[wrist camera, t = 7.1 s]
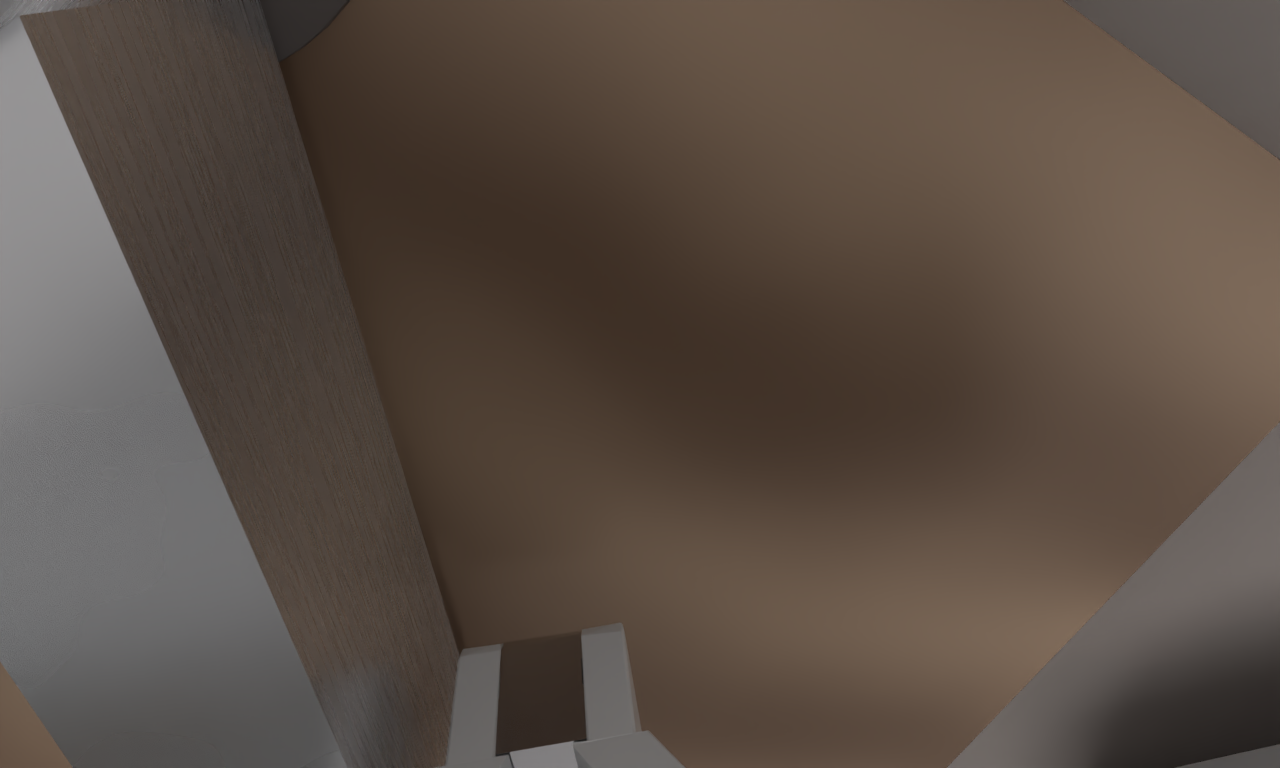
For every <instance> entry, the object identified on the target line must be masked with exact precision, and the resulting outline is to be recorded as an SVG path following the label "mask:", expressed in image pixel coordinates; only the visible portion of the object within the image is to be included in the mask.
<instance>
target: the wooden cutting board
mask: <svg viewBox="0 0 1280 768" xmlns="http://www.w3.org/2000/svg"><path fill="white" fill-rule="evenodd" d="M260 4H261V7H262V10H263V13H264V17H265V20H266V23H267V26H268V30H269V33H270V36H271V40H272V43H273V46H274V49H275V53H276V56H277V59H278V62H279V66H280V69H281V72H282V76H283V79H284V82H285V85H286V89H287V92H288V95H289V99H290V102H291V105H292V108H293V112H294V115H295V118H296V121H297V125H298V128H299V131H300V135H301V138H302V141H303V144H304V148H305V151H306V154H307V157H308V161H309V164H310V167H311V171H312V174H313V177H314V180H315V184H316V187H317V190H318V193H319V197H320V200H321V203H322V207H323V210H324V213H325V216H326V220H327V223H328V226H329V230H330V233H331V236H332V239H333V243H334V246H335V249H336V252H337V256H338V259H339V262H340V266H341V269H342V272H343V275H344V279H345V282H346V285H347V288H348V292H349V295H350V298H351V302H352V305H353V308H354V311H355V315H356V318H357V321H358V324H359V328H360V331H361V334H362V338H363V341H364V344H365V347H366V351H367V354H368V357H369V360H370V364H371V367H372V370H373V374H374V377H375V380H376V383H377V387H378V390H379V393H380V397H381V400H382V403H383V406H384V410H385V413H386V416H387V419H388V423H389V426H390V429H391V433H392V436H393V439H394V442H395V446H396V449H397V452H398V455H399V459H400V462H401V465H402V469H403V472H404V475H405V478H406V482H407V485H408V488H409V491H410V495H411V498H412V501H413V505H414V508H415V511H416V514H417V518H418V521H419V524H420V528H421V531H422V534H423V537H424V541H425V544H426V547H427V550H428V554H429V557H430V560H431V564H432V567H433V570H434V573H435V577H436V580H437V583H438V586H439V590H440V593H441V596H442V600H443V603H444V606H445V609H446V613H447V616H448V619H449V622H450V626H451V629H452V632H453V636H454V639H455V642H456V645H457V649H458V652H459V655H460V654H461V652H462V650H463V649H467V648H474V647H481V646H489V645H496V644H503V643H504V642H510V641H517V640H524V639H531V638H537V637H544V636H550V635H556V634H561V633H567V632H572V631H578V630H582V629H588V628H593V627H599V626H604V625H610V624H615V623H622V624H623V628H624V632H625V637H626V643H627V649H628V655H629V660H630V666H631V672H632V678H633V683H634V689H635V695H636V701H637V707H638V713H639V718H640V724H641V730H642V731H647V730H649V731H650V732H651V733H652V734H653V735H654V736H655V737H656V738H657V739H658V740H659V741H660V743H661V744H662V745H663V746H664V747H665V748H666V749H667V750H668V751H669V752H670V753H671V754H672V755H673V756H674V757H675V758H676V759H677V760H678V761H679V762H680V763H681V764H682V765H683V766H684V767H685V768H947V767H948V766H949V765H950V764H951V763H952V761H953V760H954V759H955V758H956V757H957V756H958V755H959V754H960V753H961V752H962V751H963V750H964V749H965V748H966V747H967V746H968V745H969V744H970V743H971V742H972V741H973V740H974V739H975V738H976V737H977V736H978V734H979V733H980V732H981V731H982V730H983V729H984V728H985V727H986V726H987V725H988V724H989V723H990V722H991V721H992V720H993V719H994V718H995V717H996V716H997V715H998V714H999V713H1000V712H1001V711H1002V710H1003V709H1004V707H1005V706H1006V705H1007V704H1008V703H1009V702H1010V701H1011V700H1012V699H1013V698H1014V697H1015V696H1016V695H1017V694H1018V693H1019V692H1020V691H1021V690H1022V689H1023V688H1024V687H1025V686H1026V685H1027V684H1028V683H1029V682H1030V681H1031V679H1032V678H1033V677H1034V676H1035V675H1036V674H1037V673H1038V672H1039V671H1040V670H1041V669H1042V668H1043V667H1044V666H1045V665H1046V664H1047V663H1048V662H1049V661H1050V660H1051V659H1052V658H1053V657H1054V656H1055V655H1056V654H1057V652H1058V651H1059V650H1060V649H1061V648H1062V647H1063V646H1064V645H1065V644H1066V643H1067V642H1068V641H1069V640H1070V639H1071V638H1072V637H1073V636H1074V635H1075V634H1076V633H1077V632H1078V631H1079V630H1080V629H1081V628H1082V627H1083V626H1084V624H1085V623H1086V622H1087V621H1088V620H1089V619H1090V618H1091V617H1092V616H1093V615H1094V614H1095V613H1096V612H1097V611H1098V610H1099V609H1100V608H1101V607H1102V606H1103V605H1104V604H1105V603H1106V602H1107V601H1108V600H1109V599H1110V597H1111V596H1112V595H1113V594H1114V593H1115V592H1116V591H1117V590H1118V589H1119V588H1120V587H1121V586H1122V585H1123V584H1124V583H1125V582H1126V581H1127V580H1128V579H1129V578H1130V577H1131V576H1132V575H1133V574H1134V573H1135V572H1136V570H1137V569H1138V568H1139V567H1140V566H1141V565H1142V564H1143V563H1144V562H1145V561H1146V560H1147V559H1148V558H1149V557H1150V556H1151V555H1152V554H1153V553H1154V552H1155V551H1156V550H1157V549H1158V548H1159V547H1160V546H1161V545H1162V544H1163V542H1164V541H1165V540H1166V539H1167V538H1168V537H1169V536H1170V535H1171V534H1172V533H1173V532H1174V531H1175V530H1176V529H1177V528H1178V527H1179V526H1180V525H1181V524H1182V523H1183V522H1184V521H1185V520H1186V519H1187V518H1188V517H1189V515H1190V514H1191V513H1192V512H1193V511H1194V510H1195V509H1196V508H1197V507H1198V506H1199V505H1200V504H1201V503H1202V502H1203V501H1204V500H1205V499H1206V498H1207V497H1208V496H1209V495H1210V494H1211V493H1212V492H1213V491H1214V490H1215V489H1216V487H1217V486H1218V485H1219V484H1220V483H1221V482H1222V481H1223V480H1224V479H1225V478H1226V477H1227V476H1228V475H1229V474H1230V473H1231V472H1232V471H1233V470H1234V469H1235V468H1236V467H1237V466H1238V465H1239V464H1240V463H1241V462H1242V460H1243V459H1244V458H1245V457H1246V456H1247V455H1248V454H1249V453H1250V452H1251V451H1252V450H1253V449H1254V448H1255V447H1256V446H1257V445H1258V444H1259V443H1260V442H1261V441H1262V440H1263V439H1264V438H1265V437H1266V436H1267V435H1268V433H1269V432H1270V431H1271V430H1272V429H1273V428H1274V427H1275V426H1276V425H1277V424H1278V423H1279V422H1280V160H1279V159H1278V158H1276V157H1275V156H1274V155H1272V154H1271V153H1270V152H1268V151H1267V150H1266V149H1264V148H1263V147H1261V146H1260V145H1259V144H1257V143H1256V142H1255V141H1253V140H1252V139H1251V138H1249V137H1248V136H1247V135H1245V134H1244V133H1242V132H1241V131H1240V130H1238V129H1237V128H1236V127H1234V126H1233V125H1232V124H1230V123H1229V122H1227V121H1226V120H1225V119H1223V118H1222V117H1221V116H1219V115H1218V114H1217V113H1215V112H1214V111H1213V110H1211V109H1210V108H1208V107H1207V106H1206V105H1204V104H1203V103H1202V102H1200V101H1199V100H1198V99H1196V98H1195V97H1193V96H1192V95H1191V94H1189V93H1188V92H1187V91H1185V90H1184V89H1183V88H1181V87H1180V86H1179V85H1177V84H1176V83H1174V82H1173V81H1172V80H1170V79H1169V78H1168V77H1166V76H1165V75H1164V74H1162V73H1161V72H1159V71H1158V70H1157V69H1155V68H1154V67H1153V66H1151V65H1150V64H1149V63H1147V62H1146V61H1145V60H1143V59H1142V58H1140V57H1139V56H1138V55H1136V54H1135V53H1134V52H1132V51H1131V50H1130V49H1128V48H1127V47H1125V46H1124V45H1123V44H1121V43H1120V42H1119V41H1117V40H1116V39H1115V38H1113V37H1112V36H1111V35H1109V34H1108V33H1106V32H1105V31H1104V30H1102V29H1101V28H1100V27H1098V26H1097V25H1096V24H1094V23H1093V22H1091V21H1090V20H1089V19H1087V18H1086V17H1085V16H1083V15H1082V14H1081V13H1079V12H1078V11H1077V10H1075V9H1074V8H1072V7H1071V6H1070V5H1068V4H1067V3H1066V2H1064V1H1063V0H260ZM0 768H73V767H72V766H71V764H70V763H69V761H68V760H67V758H66V757H65V756H64V754H63V753H62V751H61V750H60V748H59V747H58V745H57V744H56V742H55V741H54V739H53V738H52V736H51V735H50V734H49V732H48V731H47V729H46V728H45V726H44V725H43V723H42V722H41V720H40V719H39V717H38V716H37V715H36V713H35V712H34V710H33V709H32V707H31V706H30V704H29V703H28V701H27V700H26V698H25V697H24V695H23V694H22V693H21V691H20V690H19V688H18V687H17V685H16V684H15V682H14V681H13V679H12V678H11V676H10V675H9V674H8V672H7V671H6V669H5V668H4V666H3V665H2V663H1V662H0Z"/></svg>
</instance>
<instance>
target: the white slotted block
mask: <svg viewBox="0 0 1280 768" xmlns="http://www.w3.org/2000/svg"><path fill="white" fill-rule="evenodd" d="M1176 768H1280V744H1278V745H1274V746H1269V747H1265V748H1260V749H1256V750H1251V751H1247V752H1242V753H1238V754H1234V755H1229V756H1225V757H1220V758H1216V759H1211V760H1207V761H1202V762H1198V763H1193V764H1189V765H1184V766H1180V767H1176Z"/></svg>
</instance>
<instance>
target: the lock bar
mask: <svg viewBox="0 0 1280 768" xmlns="http://www.w3.org/2000/svg"><path fill="white" fill-rule="evenodd" d="M459 656H460V655H459V652H458V649H457V645H456V642H455V639H454V636H453V632H452V629H451V626H450V622H449V619H448V616H447V613H446V609H445V606H444V603H443V600H442V596H441V593H440V590H439V586H438V583H437V580H436V577H435V573H434V570H433V567H432V564H431V560H430V557H429V554H428V550H427V547H426V544H425V541H424V537H423V534H422V531H421V528H420V524H419V521H418V518H417V514H416V511H415V508H414V505H413V501H412V498H411V495H410V491H409V488H408V485H407V482H406V478H405V475H404V472H403V469H402V465H401V462H400V459H399V455H398V452H397V449H396V446H395V442H394V439H393V436H392V433H391V429H390V426H389V423H388V419H387V416H386V413H385V410H384V406H383V403H382V400H381V397H380V393H379V390H378V387H377V383H376V380H375V377H374V374H373V370H372V367H371V364H370V360H369V357H368V354H367V351H366V347H365V344H364V341H363V338H362V334H361V331H360V328H359V324H358V321H357V318H356V315H355V311H354V308H353V305H352V302H351V298H350V295H349V292H348V288H347V285H346V282H345V279H344V275H343V272H342V269H341V266H340V262H339V259H338V256H337V252H336V249H335V246H334V243H333V239H332V236H331V233H330V230H329V226H328V223H327V220H326V216H325V213H324V210H323V207H322V203H321V200H320V197H319V193H318V190H317V187H316V184H315V180H314V177H313V174H312V171H311V167H310V164H309V161H308V157H307V154H306V151H305V148H304V144H303V141H302V138H301V135H300V131H299V128H298V125H297V121H296V118H295V115H294V112H293V108H292V105H291V102H290V99H289V95H288V92H287V89H286V85H285V82H284V79H283V76H282V72H281V69H280V66H279V62H278V59H277V56H276V53H275V49H274V46H273V43H272V40H271V36H270V33H269V30H268V26H267V23H266V20H265V17H264V13H263V10H262V7H261V4H260V0H0V662H1V663H2V665H3V666H4V668H5V669H6V671H7V672H8V674H9V675H10V676H11V678H12V679H13V681H14V682H15V684H16V685H17V687H18V688H19V690H20V691H21V693H22V694H23V695H24V697H25V698H26V700H27V701H28V703H29V704H30V706H31V707H32V709H33V710H34V712H35V713H36V715H37V716H38V717H39V719H40V720H41V722H42V723H43V725H44V726H45V728H46V729H47V731H48V732H49V734H50V735H51V736H52V738H53V739H54V741H55V742H56V744H57V745H58V747H59V748H60V750H61V751H62V753H63V754H64V756H65V757H66V758H67V760H68V761H69V763H70V764H71V766H72V767H73V768H435V767H440V766H445V763H446V755H447V747H448V738H449V730H450V721H451V713H452V705H453V696H454V688H455V679H456V671H457V663H458V659H459Z"/></svg>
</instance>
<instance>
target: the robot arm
mask: <svg viewBox="0 0 1280 768" xmlns="http://www.w3.org/2000/svg"><path fill="white" fill-rule="evenodd" d="M435 768H685V767H684V766H683V765H682V764H681V763H680V762H679V761H678V760H677V759H676V758H675V757H674V756H673V755H672V754H671V753H670V752H669V751H668V750H667V749H666V748H665V747H664V746H663V745H662V744H661V743H660V741H659V740H658V739H657V738H656V737H655V736H654V735H653V734H652V733H651V732H650V731H649V730H647V731H642V730H641V724H640V718H639V713H638V707H637V701H636V695H635V689H634V683H633V678H632V672H631V666H630V660H629V655H628V649H627V643H626V637H625V632H624V628H623V624H622V623H615V624H610V625H604V626H599V627H593V628H588V629H582V630H578V631H572V632H567V633H561V634H556V635H550V636H544V637H537V638H531V639H524V640H517V641H510V642H504V643H503V644H496V645H489V646H481V647H474V648H467V649H463V650H462V652H461V654H460V656H459V659H458V663H457V671H456V679H455V688H454V696H453V705H452V713H451V721H450V730H449V738H448V747H447V755H446V763H445V766H440V767H435Z"/></svg>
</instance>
